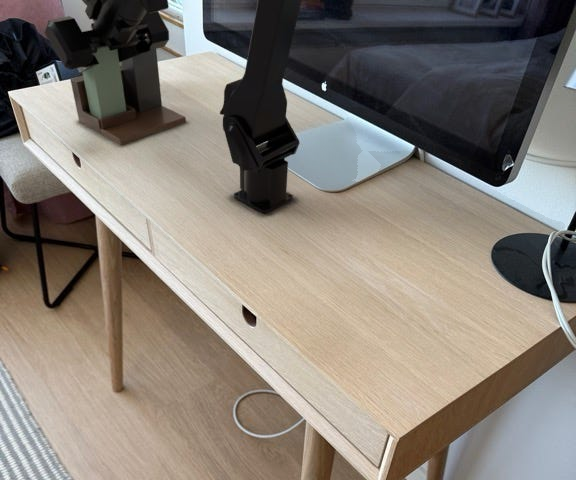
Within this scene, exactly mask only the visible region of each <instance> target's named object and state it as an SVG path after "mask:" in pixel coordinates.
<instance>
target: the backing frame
mask: <svg viewBox="0 0 576 480" xmlns="http://www.w3.org/2000/svg"><path fill="white" fill-rule="evenodd" d="M146 37H147V40H146V41H147V43H149V42H150V39H149V38H148V36H146ZM120 70H121V77H122V84H123V91H124V98H125V104H126V112H122V113H119V114H116V115H113V116H109V117H106V118H103V119H99V118H98V117H96V116H94V115H92V114H90V109H89V103H88V98H87V93H86V88H85V83H84V77H83V75H80V76H76V77H72V78H70V79H69V80H70V85H71V89H72V95H73V99H74V104H75V108H76V114H77V118H78V122H79V123H80V124H82V125H84V126H86V127H88V128H90V130H93V131H95V132H97V133H99V134H100V135H102V136H104V137H106V138H108V139H109V140H111V141H113V142H115V143H117V144H118V145H120V146H123V145H125V144H127V143H131V142H134V141H137V140H139V139H143V138H145V137H148V136H151V135H154V134H157V133H159V132H163V131H165V130H168V129H171V128H174V127H177V126H180V125H183V124H186V123H187V117H186V116H184V115H182V114H181V113H178V112H176V111H175V110H172V109H170V108H168V107H165V106H163V101H162V91H161V83H160V73H159V72H160V71H159V63H158V52H157V49H153V50H152V49H151V48H150V51H149V52H147V53H144V54H141V55H138V56H135V57H133V58H130V59H127V60H125V61H122V66H120Z"/></svg>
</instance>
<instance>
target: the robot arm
mask: <svg viewBox="0 0 576 480" xmlns="http://www.w3.org/2000/svg"><path fill="white" fill-rule="evenodd" d="M81 1H82V2H83V4H84V5H85V6H86V8H85V11H84V13H85V14H86V16H87V18H88V20H92V21H93V22H92V23H91V24H90V28H91V29H90V30H85V31H82V29H81V27H80V26H79V24H78V22H77V20H76V19H75V17H72V16H70V15H68V16H62V17H58V18H52V19H48V21H47V23H46V26H45V29H44V30H45V31H44V35H45V36H46V38H47V40H48V41H49V43H50V45H51V47H52V49H53V50H54V52H55V54H56V55H57V57H58V59H59V60H60V62H61V64H62V66H63V67H64V68H66V69H67V70H70V71H71V70H75V69H77V71H78V73H79V74H83V72H85V71H87V70H89V69H90V68H92V67H94V66H96V65H98V64H99V62H98V60H97V59H96V57H95V55H96V54H97V51H98V50H97V49H101V48H105V47H108V48H109V49H110V51H111V50H116V49H117V50H118V57H119V62H122V61H125V60H127V59H130V58H133V57H135V56H138V55H141V54H144V53H147V52H149V51H150V48H151V49H152V50H153V49H156V50H157V49H161V48H165V47H166V46H167V44H168V42H169V40H170V30H169V28H168V26H167V25H166V23H165V21H164V19H163V17H162V16H161V14H160V12H161V11H164V10H168V9H169V6H170V5H169V1H168V0H81ZM302 3H303V0H257V4H256V9H255V14H254V15H255V16H254V20H253V25H252V32H251V37H250V42H249V48H248V54H247V59H246V64H245V69H244V74H243V76H242V78H240V79H237V80H234V81H232V82H229V83H226V85H225V87H224V90H223V103H222V106H221V109H220V111H219V115H221V116H222V131H223V132H224V136H225V139H226V142H227V147H228V150H229V154H230V159H231V161H232V163H233V164H234V165H235V164H236V165H237V166H238V167H239V189H240V190H239V191H237V192H234V193H233V198H234V199H235V200H236V201H239V202H240V203H243V204H245V205H246V206H248V207H250V208H252V209H254V210H256V211H257V212H259V213H261V214H267V213H269V212H271V211H273V210H275V209H277V208H279V207H281V206H284V205H285V204H287V203H289V202H291V201H293V200H294V195H293V194H292V193H289V192H287V189H288V188H287V187H288V169H289V161H287V160H286V158H288V157H290V156H293V155H295V154H296V153H297V151H298V148H299V146H300V143H301V142H300V139H299V138H298V136H297V135H296V132H295V131H294V129H293V127H292V125H291V123H290V121H289V120H288V118H287V110H288V109H287V108H288V99H287V96H286V92H285V88H284V85H283V83H284V82H283V81H284V76H285V72H286V68H287V64H288V60H289V55H290V51H291V47H292V43H293V38H294V34H295V30H296V26H297V23H298V18H299V15H300V10H301V5H302ZM146 36H148V38H149V39H150V42H149V43H147V41H146V40H147V37H146Z"/></svg>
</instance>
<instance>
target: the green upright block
mask: <svg viewBox="0 0 576 480" xmlns="http://www.w3.org/2000/svg"><path fill="white" fill-rule="evenodd" d="M97 50H98V51H97V54H96V55H95V57H96V59H97V60H98V62H99V64H98V65H96V66H94V67H92V68H90V69H89V70H87V71H85V72H83V73H82V76H83V77H84V83H85V88H86V93H87V98H88V103H89V109H90V114H92V115H94V116H96V117H98V118H99V119H103V118H106V117H109V116H113V115H116V114H119V113H122V112H126V104H125V98H124V91H123V84H122V77H121V70H120V63H119V57H118V50H117V49H116V50H111V51H110V49H109V48H108V47H105V48H101V49H97Z"/></svg>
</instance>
